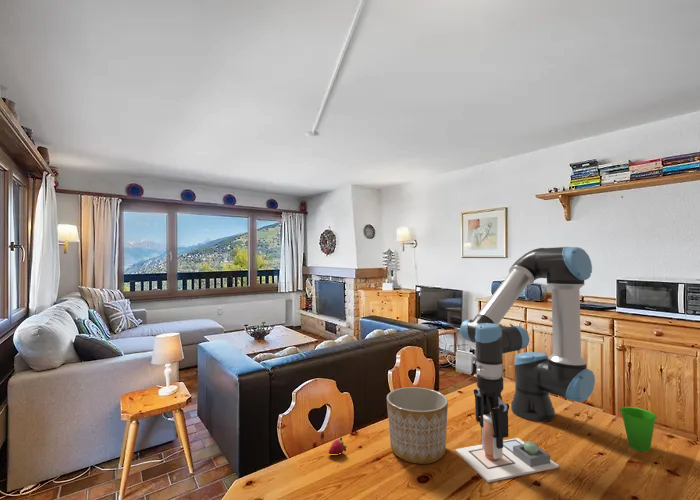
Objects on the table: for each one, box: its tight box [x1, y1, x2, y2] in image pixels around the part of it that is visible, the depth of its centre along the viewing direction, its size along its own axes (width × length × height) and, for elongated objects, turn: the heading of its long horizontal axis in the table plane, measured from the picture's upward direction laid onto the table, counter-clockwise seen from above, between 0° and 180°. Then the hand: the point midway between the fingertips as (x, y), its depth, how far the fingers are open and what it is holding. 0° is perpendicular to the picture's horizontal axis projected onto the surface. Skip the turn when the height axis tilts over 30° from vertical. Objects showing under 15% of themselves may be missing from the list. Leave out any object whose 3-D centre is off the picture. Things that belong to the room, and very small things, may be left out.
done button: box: [524, 440, 539, 456], centre depth 103 cm, size 4×4×2 cm
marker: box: [483, 413, 499, 461], centre depth 103 cm, size 4×4×12 cm
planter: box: [386, 386, 449, 465], centre depth 109 cm, size 19×19×16 cm
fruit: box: [327, 437, 348, 454], centre depth 107 cm, size 4×6×5 cm
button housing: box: [513, 444, 551, 467], centre depth 103 cm, size 7×7×2 cm
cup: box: [619, 406, 658, 453], centre depth 109 cm, size 9×9×11 cm
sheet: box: [454, 437, 560, 483], centre depth 104 cm, size 16×24×1 cm, turn 105°
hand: (492, 452), depth 103 cm, fingers closed on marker, 4 cm apart
